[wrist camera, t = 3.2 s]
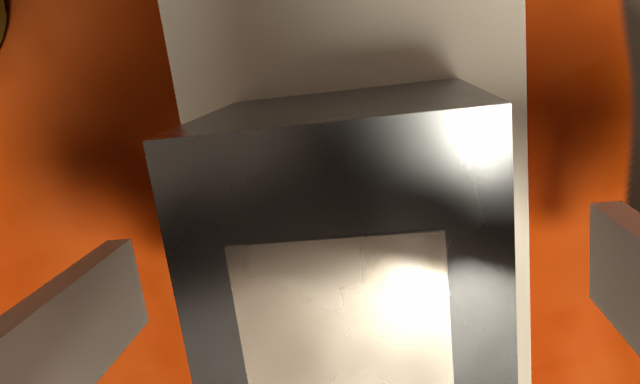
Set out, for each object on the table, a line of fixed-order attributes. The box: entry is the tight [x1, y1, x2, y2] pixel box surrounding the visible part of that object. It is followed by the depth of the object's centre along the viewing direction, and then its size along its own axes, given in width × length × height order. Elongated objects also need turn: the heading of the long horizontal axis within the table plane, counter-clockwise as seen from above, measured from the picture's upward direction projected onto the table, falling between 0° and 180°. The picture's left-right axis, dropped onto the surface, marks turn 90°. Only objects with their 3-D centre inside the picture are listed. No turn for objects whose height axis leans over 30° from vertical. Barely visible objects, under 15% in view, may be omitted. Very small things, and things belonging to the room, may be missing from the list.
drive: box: [142, 78, 518, 384], centre depth 14 cm, size 9×7×7 cm
